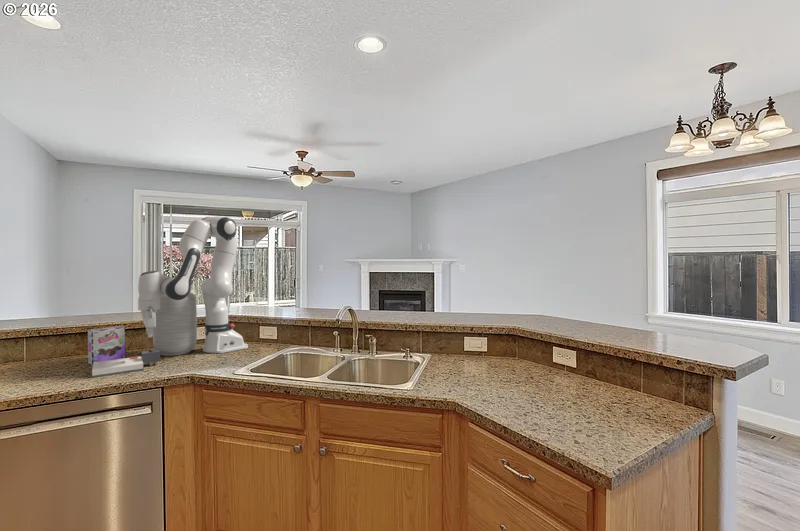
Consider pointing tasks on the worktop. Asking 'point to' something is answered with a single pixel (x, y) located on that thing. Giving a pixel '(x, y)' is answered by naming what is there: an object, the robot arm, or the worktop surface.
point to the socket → (117, 366)
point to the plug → (151, 356)
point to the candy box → (106, 344)
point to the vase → (176, 326)
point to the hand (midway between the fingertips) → (149, 335)
